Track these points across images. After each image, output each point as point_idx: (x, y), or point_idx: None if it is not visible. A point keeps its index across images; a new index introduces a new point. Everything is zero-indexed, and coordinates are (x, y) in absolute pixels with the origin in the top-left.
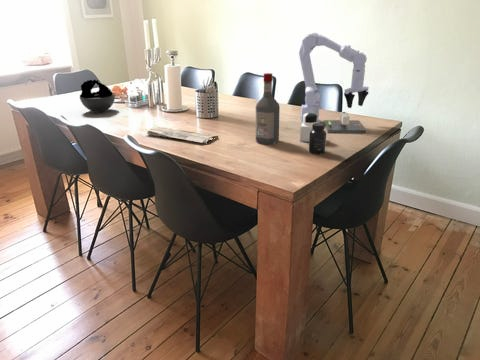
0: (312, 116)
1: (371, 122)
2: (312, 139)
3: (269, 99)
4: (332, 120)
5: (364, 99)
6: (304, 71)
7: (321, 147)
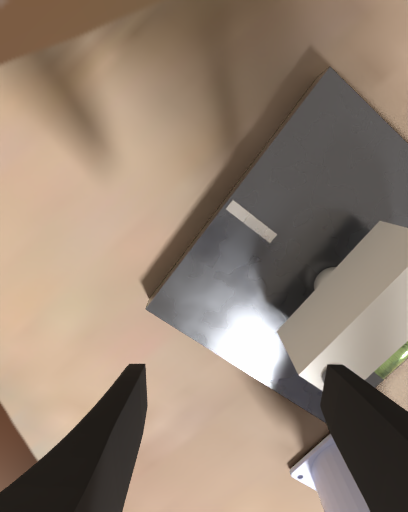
0: None
1: (51, 264)
2: None
3: None
4: (294, 397)
5: (79, 430)
6: None
7: None
